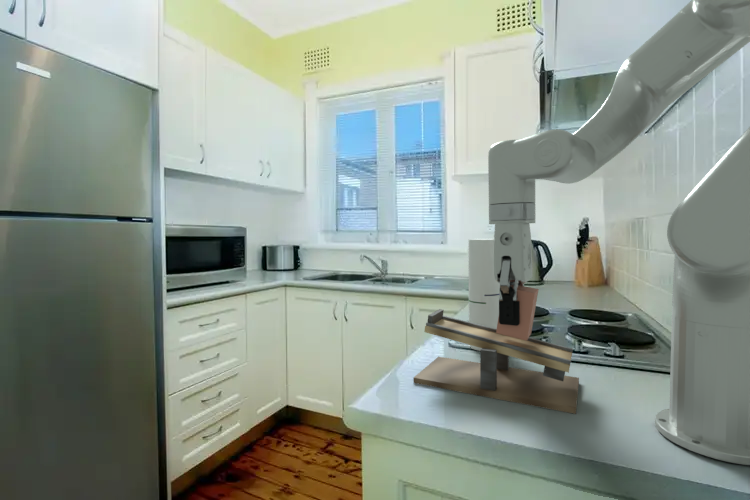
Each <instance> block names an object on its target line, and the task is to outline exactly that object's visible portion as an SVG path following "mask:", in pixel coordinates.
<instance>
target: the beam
mask: <svg viewBox="0 0 750 500" xmlns="http://www.w3.org/2000/svg"><path fill="white" fill-rule="evenodd" d="M444 312H445V311H444V309H441V308H439V309H437V310H436V311H434V312H432V313H430V314H428V316H427V321H426V323H425V325H424V333H426V334H431V335H433V336H436V337H441V338H445V339H448V340H450V341H451V340H452V341H455V342H459V343H462V344H466V345H468V346H469V345H472V346H476V347H479V348H487V349H495V350H497V353H501V354H504V355H508V356H509V357H512V358H516V359H519V360H522V361H525V362H526V361H527V362H529V363H534V364H536V365H537V364H538V365H540V366H544V368H543V372H544V373H543V376H546V377H549V378H553V379H556V380H560V381H563V380H564V376H566V375H565V374H566V373H568V374H569V372H570V367H571V363H572V356H573V351H574V348H573V347H568V346H564V345H560V344H556V343H553V342H548V341H546V340H540V339H537V338H533V337H530V336H529V338H528V340H527V341H526V340H522V339H518V338H514V337H510V336H506V335H502V334H498V333H496V330H497V329H494V328H490V327H486V326H482V325H478V324H474V323H470V322H469V321H467V320H461V319H459V318H454V317H450V316H447V315H444Z"/></svg>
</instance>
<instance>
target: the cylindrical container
mask: <svg viewBox="0 0 750 500" xmlns="http://www.w3.org/2000/svg"><path fill="white" fill-rule="evenodd" d="M499 290H500V283H498V282H497V281H496V280H495V276H494V238H469V239H468V322H470V323H474V324H478V325H482V326H486V327H490V328H494V329H497V324H498V317H499ZM470 347H471V348H470ZM470 347H469V348H470V349H472V350H475V351H479V352H480V350H481V349H482V348H479V347H476V346H472V345H470Z"/></svg>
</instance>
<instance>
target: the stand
mask: <svg viewBox="0 0 750 500" xmlns="http://www.w3.org/2000/svg"><path fill="white" fill-rule="evenodd" d="M479 352H480V353H479V354H480V356H479V357H480V361H479V362H477V361H471V360H463V359H459V358H458V359H456V358H451V357H450V358H449V357H443V356H437V357H436V358H434V360H433V361H431V362H430V363H429V364H428V365H426V367H424V368H423V369H422V370H421V371H419V372H418V373H417V374H416V375H415V376H413V384H417V385H423V386H427V387H433V388H437V389H444V390H449V391H454V392H458V393H465V394H470V395H474V396H479V397H480V396H481V397H484V398H485V397H486V398H491V399H496V400H501V401H506V402H511V403H515V404H516V403H517V404H522V405H527V406H533V407H538V408H542V409H547V410H554V411H559V412H563V413H568V414H573V415H576V414H577V407H578V406H577V405H578V397H579V396H578V395H579V386H580V378H579V377H576V376H569V375H564V380H563V381H560V380H556V379H553V378H549V377H546V376H543V373H544V371H543V372H542V371H538V370H537V371H536V370H528V369H524V368H517V367H510V356H508V355H504V354H501V353H497V350H495V349H487V348H482V349H481V350H480V351H479Z"/></svg>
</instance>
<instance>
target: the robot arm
mask: <svg viewBox="0 0 750 500" xmlns="http://www.w3.org/2000/svg"><path fill="white" fill-rule="evenodd" d="M749 43H750V0H691V1H689V2H688V3H687V4H686V5H684V7H683V8H681V9H680V10H679V11H678V12H677V13H676V15H674V16H673V17H672V18H670V20H669V21H667V22H666V23H665V24H664V25H663V26H662V27H661V28H660V29H658V30H657V31H656V32H655V33H654V34H653V35H652V36H651V37H649V38H648V40H646V41H645V42H644V43H643V44H641V45H640V46H639V47H638V48H637V49H636V50H635V51H633V52H632V53H631V54H630V55H629V56H628V57H627V58H626V59H625V60H624V61H623V63H622V64H621V67H620V68H619V70H618V72H617V74H616V76H615V79H614V81H613V85H612V88H611V90H610V92H609V94H608V96H607V98H606V100H605V101H604V103H603V104H601V107H600V108H599V109H598V110H597V111H596V112H595V114H594V115H592V117H591V118H590V119H588V120H587V121H586V122H585V123H584V124H583V125H582V126H581V127H579V128H578V129H577V130H576V131H575V132H574V133H572V132H569V131H567V130H564V129H560V128H559V129H548V130H544V131H541V132H538V133H535V134H533V135H530V136H526V137H524V138H520V139H509V140H508V139H507V140H501V141H498V142H496V143H493V144H492V145H491V146H490V148H489V149H488V155H487V157H488V158H487V159H488V164H487V165H488V166H487V167H488V225H494V235H493V239H494V276H495V280H496V281H497V282H498V283H500V290H499V323H500V324H504V325H515V326H518V325H519V324H520V301H517V300H518V285H520V286H525V284H526V283H527V282H529V281H530V280H531V279H532V278H533V274H534V273H533V258H532V257H533V253H532V252H533V251H532V234H531V226H530V224H536V180H545V181H552V182H557V183H561V184H567V185H568V184H576V183H578V182H581V181H583V180H585V179H587V178H588V177H590V176H591V175H593V174H594V173H595V172H596V171H598V170H600V169H601V168H602V167H603V166H604V165H606V164H607V163H609V162H610V161H611V160H613V159H614V158H615V157H616V156H618V154H621V152H623V151H624V150H625V149H626V148H627V147H628V146H629V145H631V144H632V143H633V142H634V141H635V140H636V139H637V138H638V137H639V136H640V135H641V134H642V133H643V132H645V130H646V129H647V128H648V127H649V126H651V125H652V124H653V123H654V122H655V121H656V120H657V119H658V118H659V117H660V116H661V114H662V113H663V112H664V111H665V110H666V109H667V108H669V106H670V105H671V104H673V102H676V101H677V100H678V99H679V98H680V97H682V95H683V94H686V92H687V91H690V89H691V88H693V87H694V86H696V84H698V83H699V82H700V81H701V80H703V79H704V78H706V76H708V75H709V74H710V73H712V72H713V71H715V69H717V68H718V67H719V66H721V65H722V64H723V63H724V62H726V61H727V60H729V59H730V58H731V57H733V55H735V54H736V53H737V52H739V51H740V50H741V49H743V48H744V47H745V46H746V45H748V44H749ZM666 228H667V229H666V237H667V243H668V245H669V247H670V249H671V251H672V252H673V255H674V258H673V259H674V260H673V261H674V263H673V264H674V265H673V281H672V283H673V284H672V303H671V305H672V307H671V308H672V309H671V330H670V331H671V336H670V337H671V341H670V374H669V375H670V376H669V377H670V378H669V407H668V408H667V409H663V410H660V411H658V412H657V413H656V414H655V416H654V417H655V419H654V425H655V428H656V429H657V430H658V432H659V433H660V434H661V435H662V436H663V437H665V438H666V439H668V440H669V441H671V442H672V443H674V444H676V445H678V446H680V447H681V448H684V449H686V450H688V451H691V452H694V453H696V454H699V455H701V456H703V457H704V456H705V457H707V458H710V459H711V458H712V459H714V460H718V461H722V462H727V463H732V464H737V465H742V466H743V465H744V466H750V126H748V128H747V129H746V130H745V131H744V132H743V134H741V136H740V137H739V138H738V139H737V140H736V141H735V142H734V144H732V145H731V147H730V148H729V149H728V150H727V151H726V152H725V153H724V154H723V156H722V157H721V158H720V159H719V160H718V161H717V162H716V163H715V165H713V167H712V168H711V169H710V170H709V171H708V172H707V173H706V175H705V176H703V178H702V179H701V180H700V181H699V182H698V183H697V184H696V186H695V187H694V188H693V189H692V190H691V191H690V192H689V193H688V194H687V195H686V196H685V197H684V199H683V200H682V201H680V203H679V204H678V206H676V208H675V209H674V211H673V212H672V214H671V216H670V218H669V221H668V224H667V227H666ZM512 286H514V289H513V288H512Z"/></svg>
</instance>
